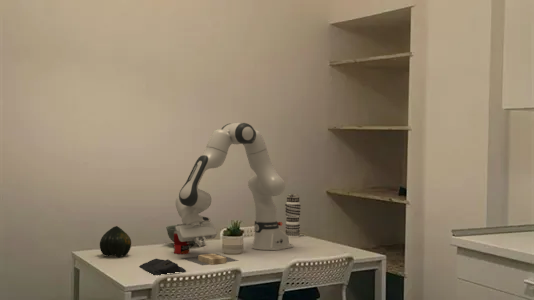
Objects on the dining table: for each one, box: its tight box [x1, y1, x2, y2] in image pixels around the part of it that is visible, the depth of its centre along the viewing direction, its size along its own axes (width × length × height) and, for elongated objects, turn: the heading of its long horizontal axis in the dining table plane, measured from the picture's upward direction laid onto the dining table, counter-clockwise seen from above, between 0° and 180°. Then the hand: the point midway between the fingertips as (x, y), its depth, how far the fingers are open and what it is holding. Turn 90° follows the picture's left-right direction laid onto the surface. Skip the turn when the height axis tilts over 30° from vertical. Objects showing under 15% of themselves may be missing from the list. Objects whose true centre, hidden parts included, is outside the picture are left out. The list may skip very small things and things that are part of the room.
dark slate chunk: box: [138, 258, 187, 276], centre depth 281 cm, size 15×22×5 cm
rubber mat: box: [181, 253, 240, 266], centre depth 303 cm, size 20×20×1 cm
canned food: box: [173, 231, 190, 255], centre depth 319 cm, size 8×8×11 cm
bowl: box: [166, 224, 197, 247], centre depth 342 cm, size 21×21×10 cm
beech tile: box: [197, 253, 228, 266], centre depth 298 cm, size 8×2×12 cm
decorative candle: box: [284, 193, 301, 238], centre depth 378 cm, size 9×9×25 cm
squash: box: [99, 225, 132, 258], centre depth 311 cm, size 14×15×15 cm
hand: (203, 246), depth 305 cm, fingers closed
